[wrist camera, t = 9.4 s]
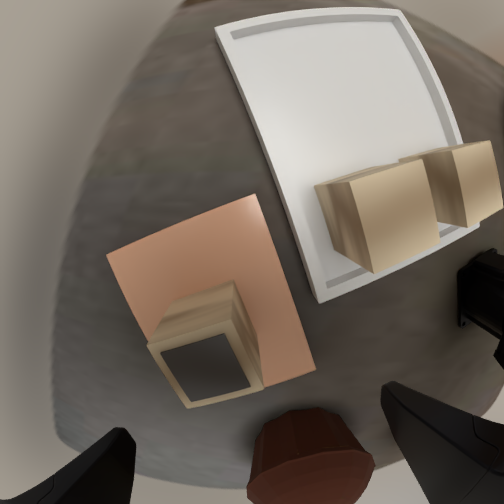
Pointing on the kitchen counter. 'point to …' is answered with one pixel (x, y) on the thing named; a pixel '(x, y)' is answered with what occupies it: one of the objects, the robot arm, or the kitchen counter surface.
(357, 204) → the plain box
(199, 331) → the labelled box
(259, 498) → the muffin
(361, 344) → the kitchen counter surface
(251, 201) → the terracotta tile
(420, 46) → the white shallow tray
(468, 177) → the plain box
